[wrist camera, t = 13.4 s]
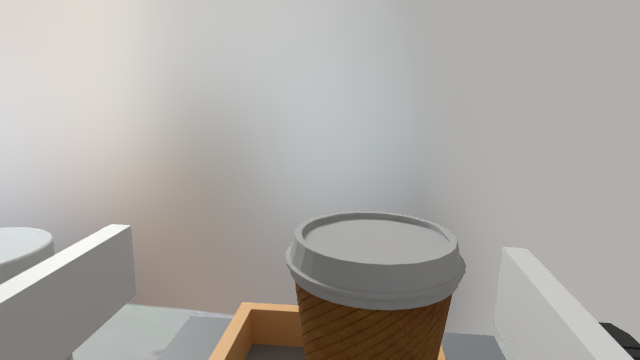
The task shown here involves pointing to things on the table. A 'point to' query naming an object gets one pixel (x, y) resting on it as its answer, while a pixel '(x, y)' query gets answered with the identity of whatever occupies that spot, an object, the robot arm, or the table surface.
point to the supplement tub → (23, 251)
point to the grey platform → (285, 338)
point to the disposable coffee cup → (373, 285)
